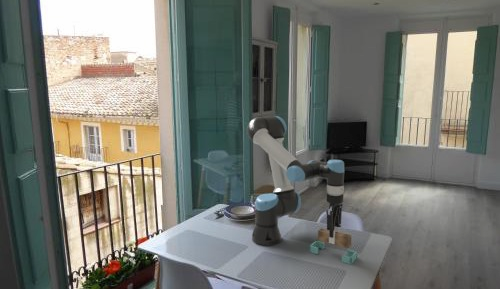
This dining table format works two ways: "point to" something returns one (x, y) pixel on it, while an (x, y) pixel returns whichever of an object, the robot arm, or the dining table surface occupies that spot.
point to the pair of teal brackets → (345, 259)
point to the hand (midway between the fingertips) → (333, 241)
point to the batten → (340, 238)
